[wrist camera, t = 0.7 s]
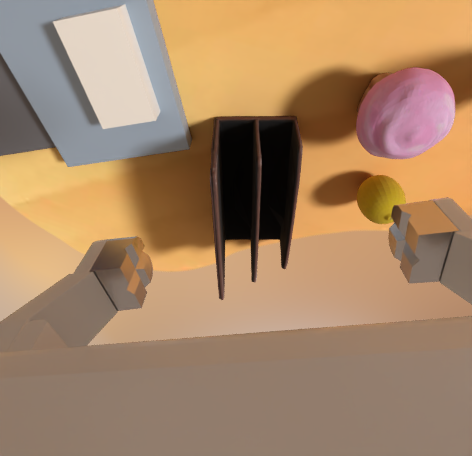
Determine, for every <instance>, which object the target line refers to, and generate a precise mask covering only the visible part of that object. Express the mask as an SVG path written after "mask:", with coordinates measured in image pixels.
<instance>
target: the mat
mask: <svg viewBox="0 0 472 456" xmlns="http://www.w3.org/2000/svg"><path fill="white" fill-rule="evenodd" d="M53 147H56V146H55V144H54V143H53V141H52V139H51V137H50V136H49V134H48V132H47V131H46V129H45V127H44V126H43V124H42V122H41V121H40V119H39V117H38V116H37V114H36V112H35V110H34V109H33V107H32V105H31V104H30V102H29V100H28V99H27V97H26V95H25V94H24V92H23V90H22V89H21V87H20V85H19V84H18V82H17V80H16V78H15V77H14V75H13V73H12V72H11V70H10V68H9V67H8V65H7V63H6V62H5V60H4V58H3V57H2V55H1V53H0V156H2V155H8V154H15V153H21V152H28V151H34V150H40V149H47V148H53Z"/></svg>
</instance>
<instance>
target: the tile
mask: <svg viewBox="0 0 472 456" xmlns="http://www.w3.org/2000/svg"><path fill="white" fill-rule="evenodd" d="M53 24H54V26H55V28H56V30H57V32H58V34H59V36H60V39H61V41H62V43H63V45H64V47H65V49H66V51H67V54H68V56H69V58H70V60H71V62H72V64H73V66H74V69H75V71H76V73H77V75H78V77H79V79H80V81H81V83H82V86H83V88H84V90H85V92H86V94H87V96H88V98H89V101H90V103H91V105H92V107H93V109H94V111H95V113H96V116H97V118H98V120H99V122H100V124H101V126H102V128H103V129H107V128H114V127H120V126H126V125H132V124H139V123H145V122H151V121H156V119H157V117H158V115H159V113H160V109H159V105H158V102H157V99H156V96H155V93H154V90H153V87H152V84H151V81H150V78H149V75H148V72H147V69H146V66H145V63H144V60H143V57H142V54H141V51H140V48H139V45H138V42H137V39H136V36H135V33H134V29H133V26H132V23H131V20H130V17H129V14H128V11H127V8H126V5H125V4H123V5H119V6H114V7H109V8H105V9H100V10H95V11H90V12H86V13H81V14H76V15H71V16H67V17H63V18H61V19H58V20H56V21H53Z"/></svg>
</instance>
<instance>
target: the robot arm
mask: <svg viewBox="0 0 472 456" xmlns="http://www.w3.org/2000/svg"><path fill="white" fill-rule="evenodd" d="M391 218H392V219H393V221H394V222H395V223H394V224H393V225H392V226H391V227H390V228H389V246H390V249H391V252H392V254H393V255H394V257H395V258H397V259H398V260H400V261H401V266H400V268H401V270H402V272H403V274H404V275H405V277H406V279H407V281H408V283H423V282H438V281H440V283H441V284H443V285H444V286H445V287H447V288H449V289H450V290H451V291H453V292H454V293H456V294H457V295H459V296H460V297H462V298H463V299H465V300H466V301H467V302H469V303H471V304H472V219H471V218H470V217H469V216H468V215H467V214H466V213H465V212H464V211H463V210H462V209H461V208H460V207H459V206H458V205H457V204H456V203H455V202H454V200H453V199H451V198H448V197H447V198H440V199H434V200H429V201H422V202H415V203H407V204H400V205H394V206H393V209H392V213H391ZM143 248H144V244H143V242H142V240H141V238H139V237H127V238H117V239H110V240H100V241H95V242H93V243H92V245H91V246H90V248H89V250H88V251H87V253H86V254H85V256H84V258H83V259H82V261H81V263H80V264H79V266H78V267H77V269H76V270H75V272H74V273H73V274H69V275H67V276H66V277H64V278H63V279H62V280H60V281H58V282H57V283H56V284H54V285H53V286H52V287H50V288H49V289H47V290H46V291H44V292H43V293H41V294H40V295H38V296H37V297H35V298H34V299H33V300H31V301H30V302H28V303H27V304H25V305H24V306H23V307H21V308H20V309H18V310H17V311H15V312H14V313H13V314H11V315H10V316H8V317H7V318H5V319H4V320H2V321H1V322H0V456H472V316H467V317H466V316H465V317H453V318H442V319H428V320H415V321H404V322H390V323H376V324H363V325H350V326H337V327H323V328H310V329H298V330H285V331H271V332H259V333H246V334H233V335H222V336H208V337H195V338H182V339H170V340H156V341H143V342H131V343H117V344H105V345H92V346H87V345H88V344H89V343H90V341H91V340H92V339H93V338H94V337H95V336H96V335H97V334H98V333H99V332H100V331H101V329H102V328H103V327H104V326H105V325H106V324H107V323H108V322H109V321H110V320H111V319H112V318H113V317H114V315H115V314H116V313H117V311H121V310H129V309H137V308H142V305H143V303H144V300H145V297H146V294H147V291H146V289H145V287H146V286H147V285H148V284H149V283H150V282H151V279H152V274H153V273H152V272H153V267H152V262H151V259H150V257H149V255H147V254H146V253H144V252H143Z"/></svg>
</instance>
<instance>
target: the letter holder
mask: <svg viewBox="0 0 472 456" xmlns="http://www.w3.org/2000/svg"><path fill="white" fill-rule="evenodd" d="M302 148H303V147H302V140H301V137H300V131H299V126H298V122H297V118H296V116H258V117H239V116H234V117H217V118H215V119H214V128H213V138H212V148H211V169H210V187H211V197H212V212H213V228H214V241H215V255H216V265H217V278H218V289H219V298H220V299H221V300H223V299H224V284H225V283H224V280H225V279H224V277H225V240H231V239H249V240H251V270H252V282H256V278H257V259H258V242H259V240H260V239H279V240H280V246H281V265H282V268H283V269H286V266H287V263H288V257H289V251H290V245H291V239H292V231H293V225H294V218H295V210H296V203H297V195H298V189H299V181H300V172H301V161H302Z"/></svg>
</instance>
